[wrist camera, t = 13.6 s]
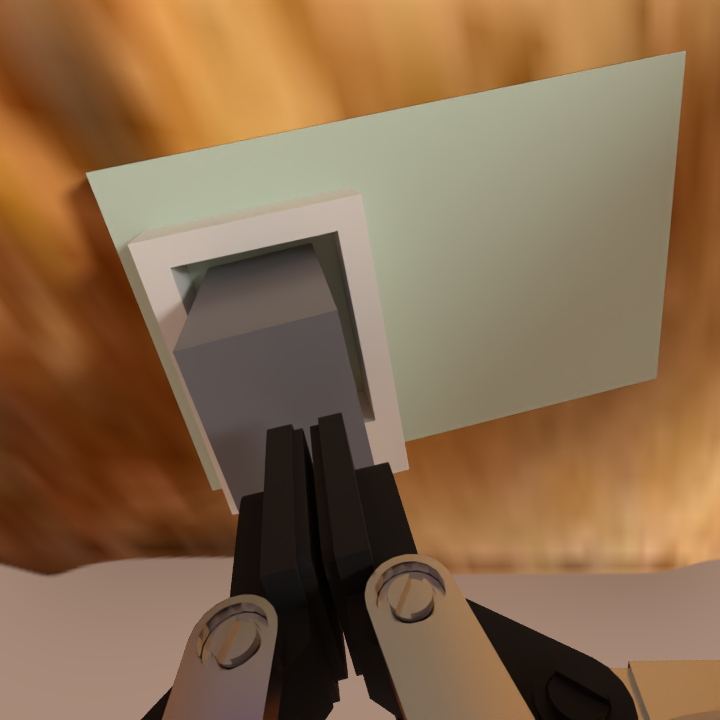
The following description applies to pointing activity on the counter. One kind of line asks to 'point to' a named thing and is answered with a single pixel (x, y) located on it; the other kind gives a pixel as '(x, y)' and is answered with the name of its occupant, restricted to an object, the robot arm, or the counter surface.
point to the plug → (267, 361)
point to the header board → (436, 243)
